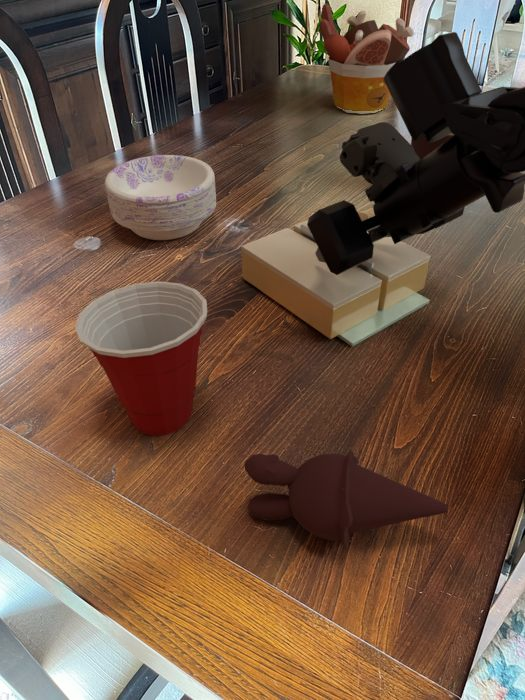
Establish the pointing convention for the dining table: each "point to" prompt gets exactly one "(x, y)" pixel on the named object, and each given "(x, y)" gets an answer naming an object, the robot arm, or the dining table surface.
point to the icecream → (335, 496)
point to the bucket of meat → (362, 59)
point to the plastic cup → (148, 349)
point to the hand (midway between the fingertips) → (344, 245)
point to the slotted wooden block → (337, 284)
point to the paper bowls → (161, 195)
